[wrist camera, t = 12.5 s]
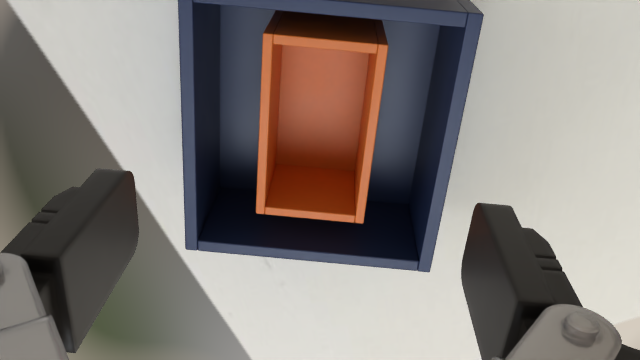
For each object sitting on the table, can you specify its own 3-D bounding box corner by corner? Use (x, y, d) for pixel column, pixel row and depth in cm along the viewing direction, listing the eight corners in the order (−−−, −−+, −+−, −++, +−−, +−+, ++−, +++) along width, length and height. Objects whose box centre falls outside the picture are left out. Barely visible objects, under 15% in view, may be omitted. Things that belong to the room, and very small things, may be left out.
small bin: (381, 18, 33) (388, 45, 27) (361, 175, 37) (363, 224, 32) (276, 8, 33) (262, 32, 27) (268, 166, 37) (255, 213, 32)
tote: (457, -12, 32) (484, 14, 26) (416, 209, 39) (429, 272, 33) (210, -35, 32) (177, -15, 26) (211, 190, 39) (185, 250, 33)
